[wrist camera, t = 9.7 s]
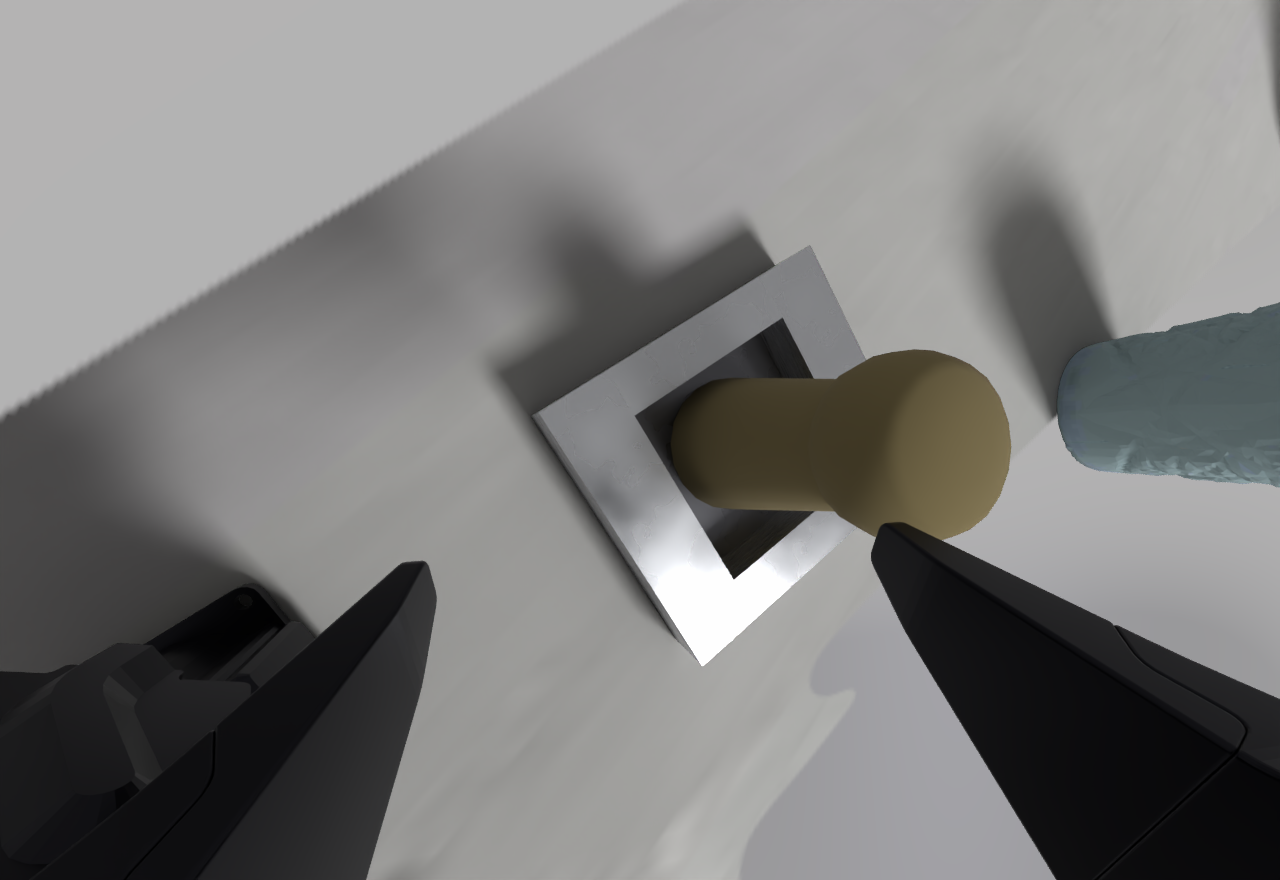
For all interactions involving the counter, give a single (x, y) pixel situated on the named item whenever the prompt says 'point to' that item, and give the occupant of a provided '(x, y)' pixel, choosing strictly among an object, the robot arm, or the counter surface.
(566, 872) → the counter surface
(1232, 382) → the teal cup
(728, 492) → the cork
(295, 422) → the counter surface
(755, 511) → the socket plate
